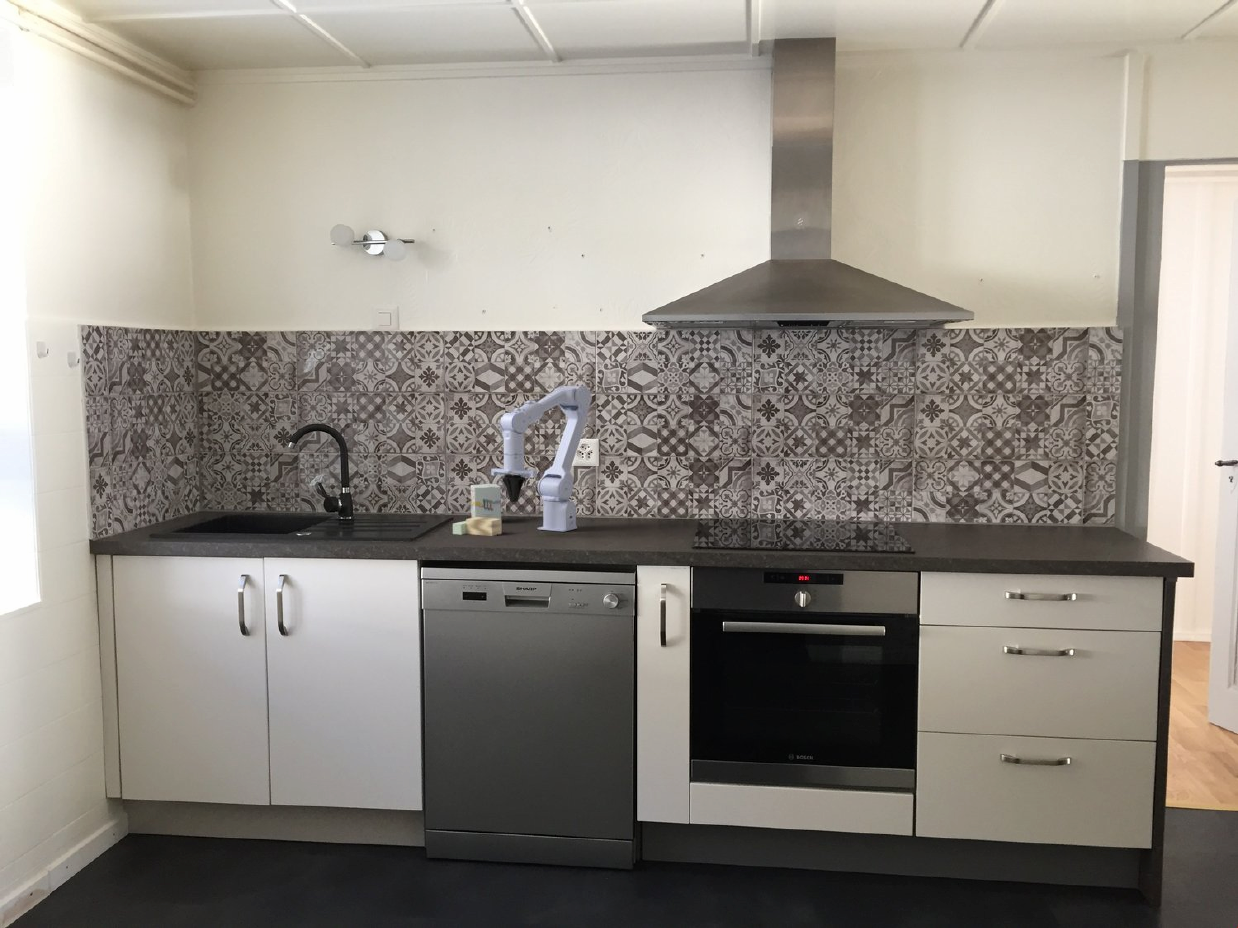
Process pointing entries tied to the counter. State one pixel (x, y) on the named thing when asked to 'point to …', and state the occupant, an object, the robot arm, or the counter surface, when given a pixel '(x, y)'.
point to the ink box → (486, 501)
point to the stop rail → (459, 528)
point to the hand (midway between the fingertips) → (514, 501)
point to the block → (483, 526)
